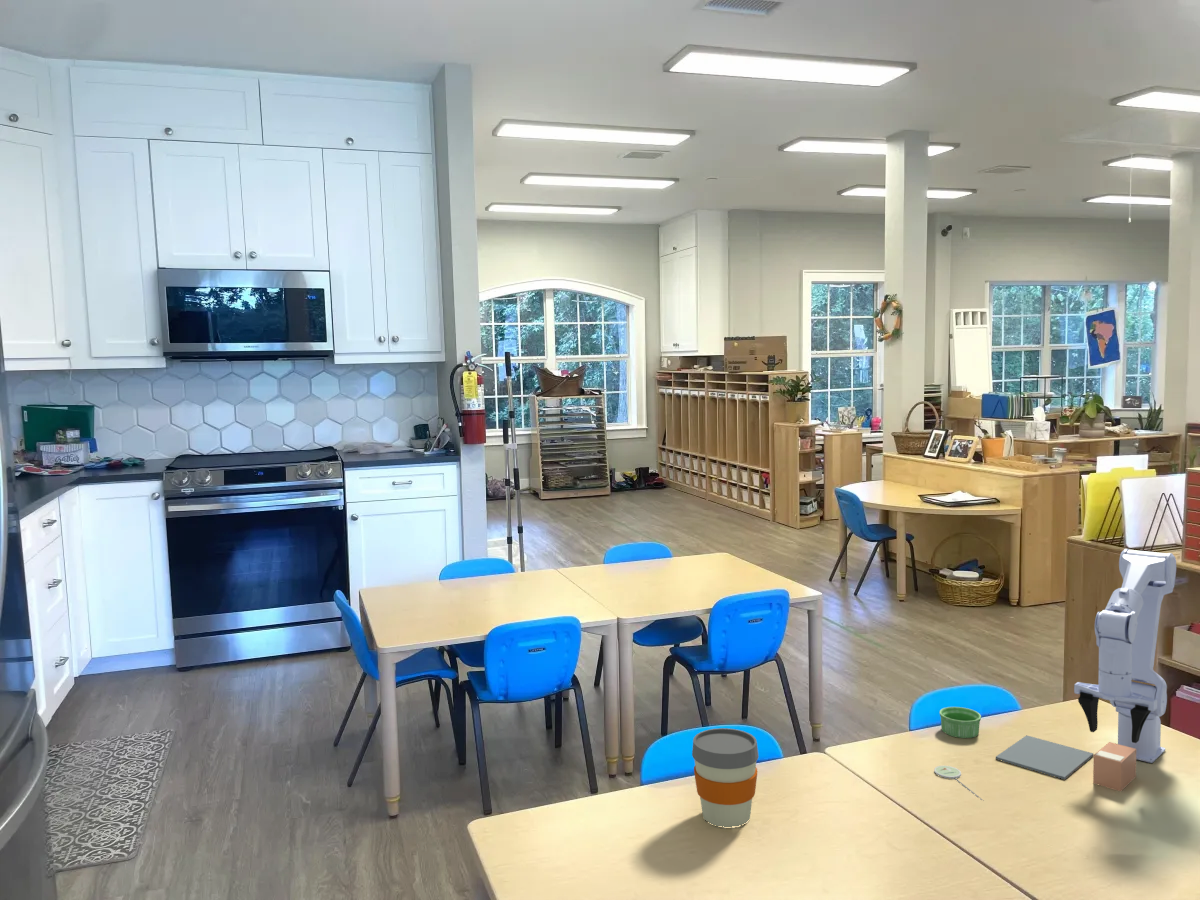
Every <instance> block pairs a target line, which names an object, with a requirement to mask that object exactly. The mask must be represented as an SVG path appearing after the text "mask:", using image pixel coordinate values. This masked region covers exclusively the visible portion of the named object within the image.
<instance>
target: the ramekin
mask: <svg viewBox="0 0 1200 900" xmlns="http://www.w3.org/2000/svg"><path fill="white" fill-rule="evenodd" d="M939 717H940V723H941V724H940V726H941V731H942V732H943V733H944V734H946V735H947V736H950V737H953V738H958V739H972V738H975V737H977V736H978V735H979V732H980V725H981V724H980V723H981V719H982V715H981V714H980V713H979V712H978V711H976V710H974V709H971V708H968V707H967V708H966V707H962V706H961V707H960V706H947V707H943V708H941V709H940V710H939Z"/></svg>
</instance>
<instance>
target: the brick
mask: <svg viewBox="0 0 1200 900" xmlns="http://www.w3.org/2000/svg"><path fill="white" fill-rule="evenodd" d="M1092 764H1093V766H1092V767H1093V770H1092V774H1093V775H1092V777H1093V778H1092V779H1093V780H1092V781H1093V783H1092V784H1094V783H1095V785H1097V784H1099V785H1098V786H1101V785H1102V786H1101V787H1104V786H1105V787H1104V788H1107V787H1108V789H1111V790H1114V791H1119V792H1122V791H1123V790H1124V789H1125V788H1126V787H1127V786H1128V785H1129V784H1130V783H1131V782H1132V781H1133V780H1134V779H1136V778H1137V759H1136V749H1135V748H1131V747H1127V746H1123V745H1119V744H1118V743H1115V742H1112V741H1108V742H1107V743H1106V744H1105V745H1104V746H1103V747H1101V748H1100V749H1099V750H1098V751H1096V752H1095V753H1093V763H1092Z"/></svg>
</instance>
